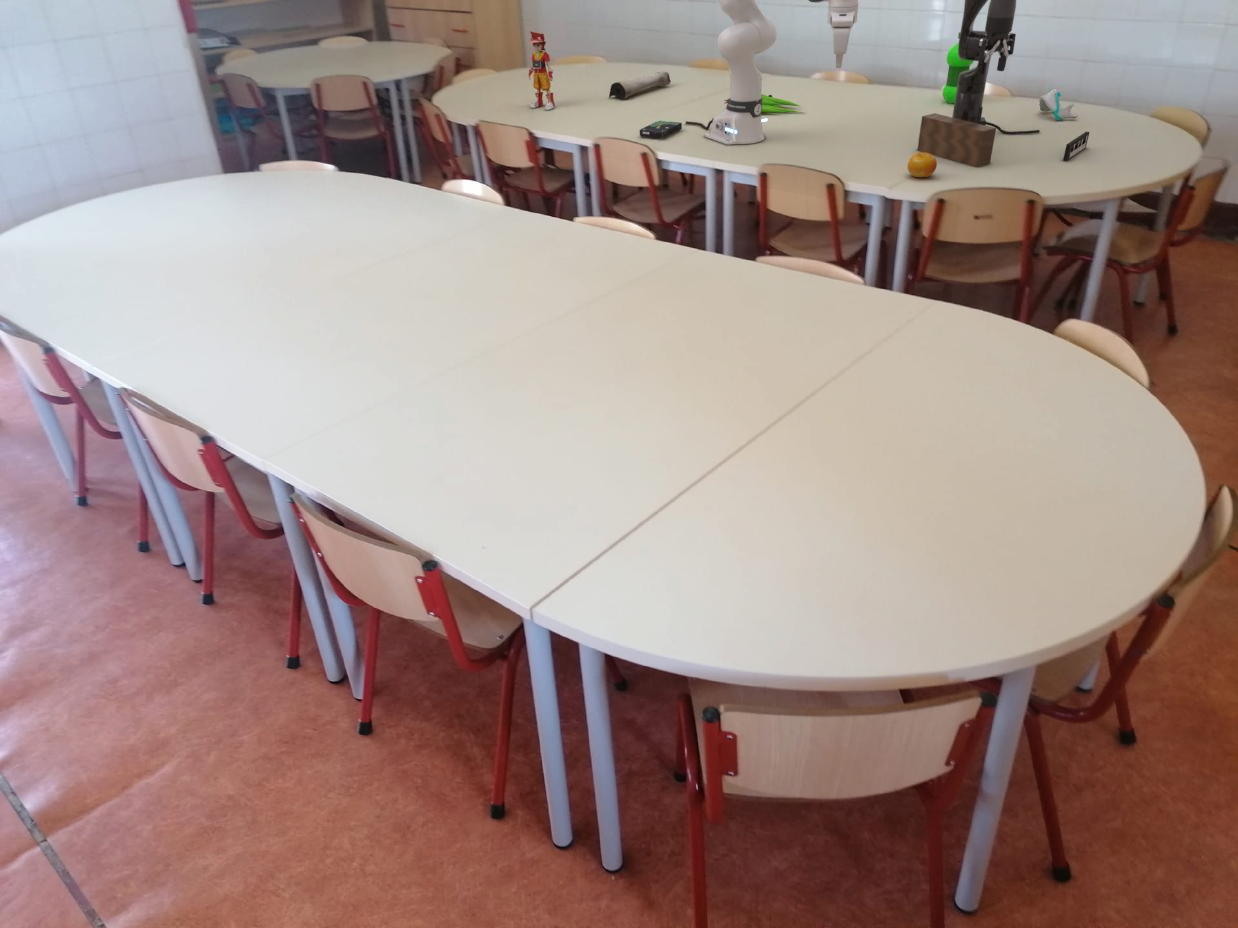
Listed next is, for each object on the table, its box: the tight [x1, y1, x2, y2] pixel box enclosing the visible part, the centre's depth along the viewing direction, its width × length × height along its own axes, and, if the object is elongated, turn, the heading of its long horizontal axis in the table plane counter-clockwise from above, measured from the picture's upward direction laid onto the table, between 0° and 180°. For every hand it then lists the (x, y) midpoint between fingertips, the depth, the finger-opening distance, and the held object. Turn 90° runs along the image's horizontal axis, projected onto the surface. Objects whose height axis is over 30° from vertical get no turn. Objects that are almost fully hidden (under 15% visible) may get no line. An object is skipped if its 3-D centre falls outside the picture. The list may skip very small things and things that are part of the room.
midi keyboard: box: [1062, 131, 1091, 161], centre depth 291 cm, size 18×1×5 cm, turn 138°
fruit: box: [907, 151, 938, 179], centre depth 280 cm, size 8×8×8 cm
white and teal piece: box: [1038, 88, 1078, 121], centre depth 328 cm, size 15×10×10 cm
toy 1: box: [527, 31, 556, 111], centre depth 374 cm, size 12×9×30 cm
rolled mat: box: [608, 71, 672, 101], centre depth 395 cm, size 30×9×10 cm
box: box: [917, 112, 997, 168], centre depth 294 cm, size 26×6×11 cm, turn 31°
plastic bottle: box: [942, 31, 974, 104], centre depth 348 cm, size 10×10×25 cm
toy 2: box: [761, 93, 804, 114], centre depth 358 cm, size 28×5×30 cm
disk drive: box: [639, 120, 683, 140], centre depth 338 cm, size 10×3×15 cm
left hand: (838, 64), depth 283 cm, fingers open, 8 cm apart
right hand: (990, 73), depth 275 cm, fingers open, 8 cm apart
